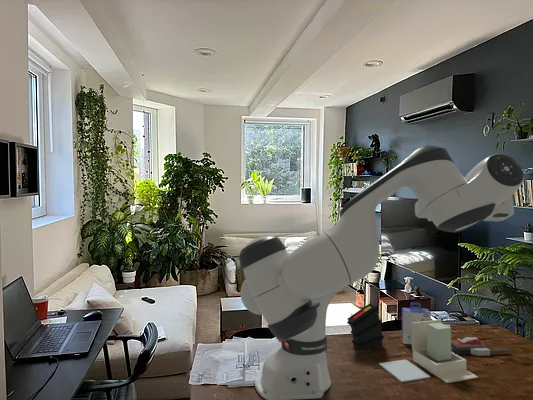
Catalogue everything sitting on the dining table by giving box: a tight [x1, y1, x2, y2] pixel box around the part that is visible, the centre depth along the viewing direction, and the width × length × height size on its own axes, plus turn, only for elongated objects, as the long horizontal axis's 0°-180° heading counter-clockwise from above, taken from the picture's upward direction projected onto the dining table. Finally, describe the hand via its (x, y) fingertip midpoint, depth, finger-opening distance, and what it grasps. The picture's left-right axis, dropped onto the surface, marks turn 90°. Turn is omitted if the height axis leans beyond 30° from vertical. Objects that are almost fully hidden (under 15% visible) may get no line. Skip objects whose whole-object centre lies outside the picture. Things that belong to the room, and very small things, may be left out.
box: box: [427, 322, 452, 364], centre depth 124 cm, size 5×5×13 cm
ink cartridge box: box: [401, 301, 432, 345], centre depth 143 cm, size 10×6×14 cm, turn 77°
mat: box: [378, 359, 431, 383], centre depth 121 cm, size 10×12×1 cm
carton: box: [411, 319, 479, 384], centre depth 123 cm, size 11×16×12 cm
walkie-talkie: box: [451, 336, 511, 357], centre depth 136 cm, size 9×4×20 cm
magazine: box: [346, 303, 385, 350], centre depth 140 cm, size 4×13×15 cm, turn 111°
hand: (449, 219), depth 99 cm, fingers open, 8 cm apart
